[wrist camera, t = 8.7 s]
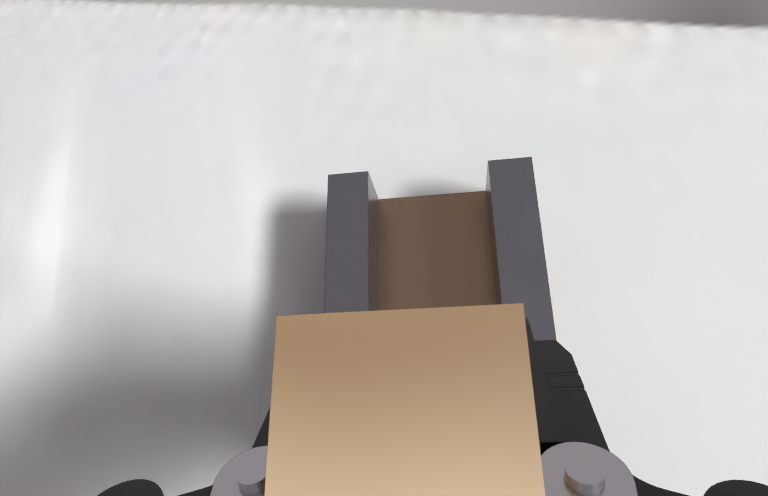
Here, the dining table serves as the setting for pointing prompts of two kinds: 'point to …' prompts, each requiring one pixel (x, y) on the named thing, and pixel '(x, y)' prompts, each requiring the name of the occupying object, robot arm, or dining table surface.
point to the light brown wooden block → (404, 404)
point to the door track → (438, 247)
